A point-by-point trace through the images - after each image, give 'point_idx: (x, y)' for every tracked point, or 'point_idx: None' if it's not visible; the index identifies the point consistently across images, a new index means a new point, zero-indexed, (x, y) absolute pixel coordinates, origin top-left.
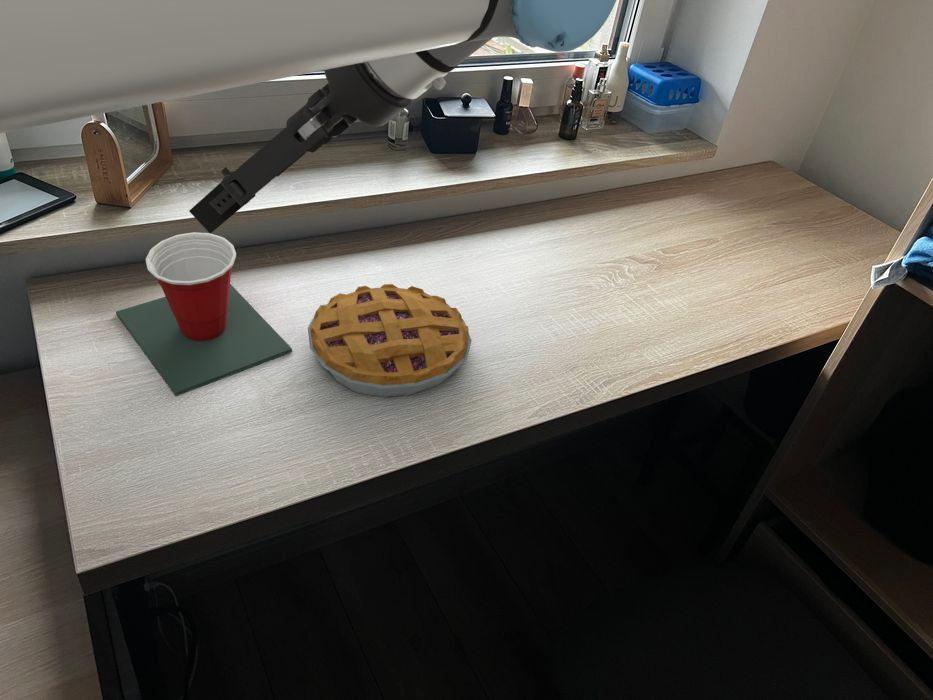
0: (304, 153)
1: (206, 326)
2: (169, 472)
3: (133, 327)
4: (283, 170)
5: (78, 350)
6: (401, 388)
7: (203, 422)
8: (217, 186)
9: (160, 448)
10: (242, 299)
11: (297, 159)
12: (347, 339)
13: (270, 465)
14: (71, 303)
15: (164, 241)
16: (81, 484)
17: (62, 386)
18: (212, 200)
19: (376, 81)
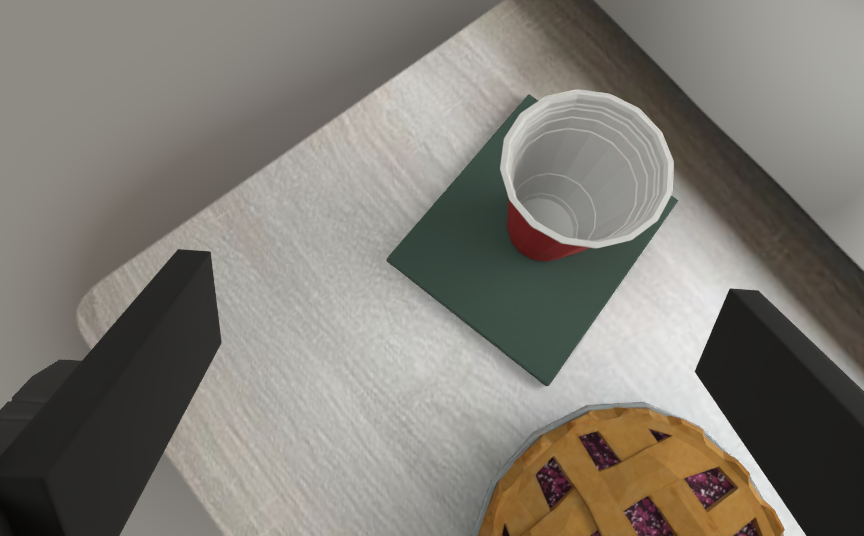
0: (797, 519)
1: (519, 241)
2: (238, 327)
3: (503, 134)
4: (714, 397)
5: (436, 93)
6: None
7: (345, 325)
8: (68, 379)
9: (280, 293)
10: (637, 250)
11: (764, 472)
12: (567, 505)
13: (283, 464)
14: (527, 32)
15: (609, 99)
16: (195, 231)
17: (361, 113)
18: (26, 384)
19: None
